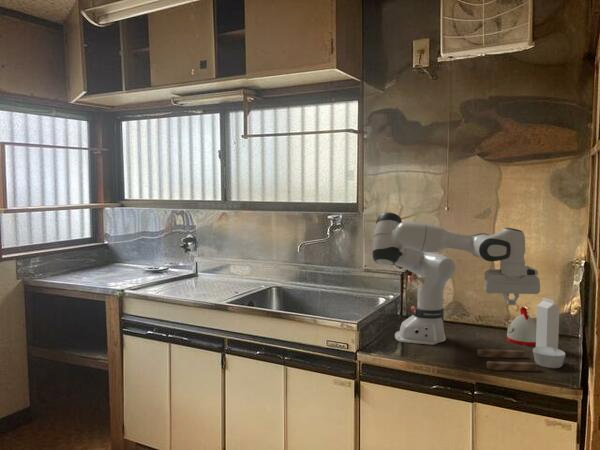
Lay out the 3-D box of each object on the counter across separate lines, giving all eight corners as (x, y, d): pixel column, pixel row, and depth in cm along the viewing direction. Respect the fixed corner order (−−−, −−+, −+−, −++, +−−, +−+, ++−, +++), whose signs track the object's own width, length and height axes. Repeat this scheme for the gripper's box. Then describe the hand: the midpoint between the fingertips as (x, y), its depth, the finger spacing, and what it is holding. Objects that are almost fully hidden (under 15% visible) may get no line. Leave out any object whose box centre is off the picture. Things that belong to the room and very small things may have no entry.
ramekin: (571, 367, 188) (572, 354, 188) (547, 371, 185) (547, 357, 185) (549, 358, 199) (550, 345, 198) (526, 360, 196) (526, 347, 195)
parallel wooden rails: (487, 369, 187) (488, 363, 186) (477, 355, 202) (477, 349, 202) (537, 371, 185) (538, 364, 185) (523, 356, 201) (523, 350, 200)
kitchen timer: (534, 336, 227) (535, 304, 226) (546, 346, 213) (547, 311, 212) (502, 335, 228) (503, 303, 227) (512, 345, 215) (513, 311, 213)
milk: (546, 353, 204) (547, 301, 202) (535, 349, 209) (536, 297, 207) (558, 352, 205) (559, 299, 203) (547, 347, 211) (548, 296, 209)
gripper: (486, 270, 190) (485, 306, 191) (542, 271, 188) (541, 307, 189) (482, 267, 197) (481, 302, 198) (536, 268, 194) (535, 303, 196)
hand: (511, 304), depth 194 cm, fingers closed
